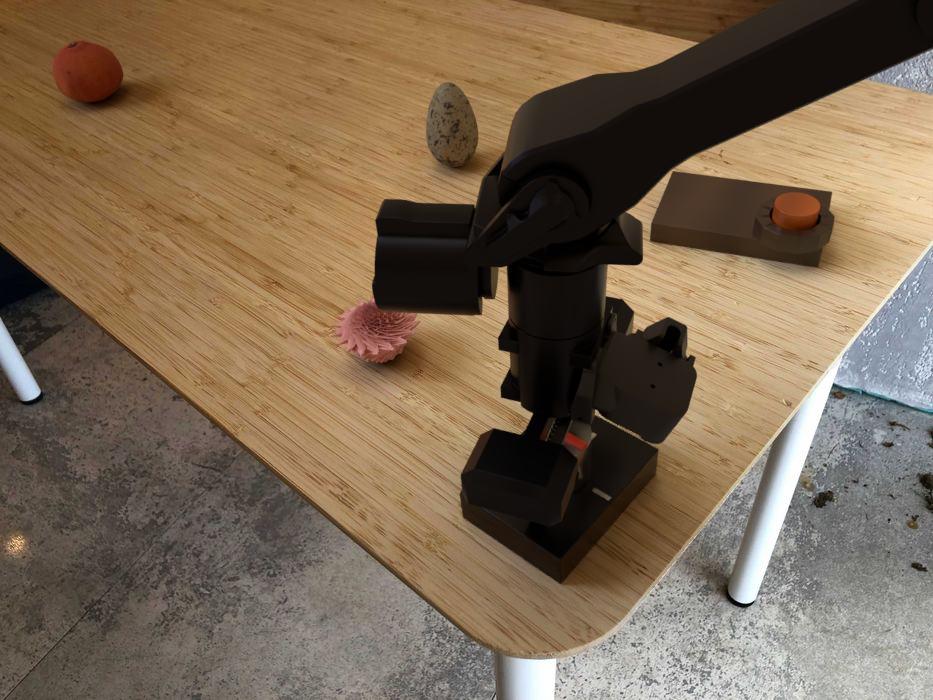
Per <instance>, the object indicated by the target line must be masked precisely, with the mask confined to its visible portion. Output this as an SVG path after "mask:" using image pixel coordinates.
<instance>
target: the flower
mask: <svg viewBox="0 0 933 700" xmlns="http://www.w3.org/2000/svg"><path fill="white" fill-rule="evenodd" d="M355 302H356V303H357V306H354V307H349V306H343V309H344V310H346V311H348V312H344V313H343V314H339V315H334V316H333V317H334V319H341V321H339V322H336V323H335V324H331V325H329V326H328V327H329V328H332V329H333V328H339V329H338V331H336V332H335V333H334V334H331V335H330V336H329V338H340V339H339V341H338V342H337V343H336V345H335V346H336V347H339V346H342V345H345V344H346V353H350V352H351V351H352V352H354V354H355V355H359V356H360V359H363V360H364V359H365V361H366V363H369V362H373V363H376V364H379V363H380V364H383V363H387V362H388V361H390V360H391V361H393V360H394V359H395V358H396V356H398V355H401V354H402V353H403V350H404V348H405V346H406V345H407V344H408V340H409V339H411V338H412V337H413V336H414V335H415V334H417V331H415V329H416V327H418V325H419V324H420V323H421V321H420V320H416V318H417V316H418V314H419V313H401V312H381V311H379V310H378V308H377V306H376V304H375V300H374V296H373V295H371V296H370V300H369V301H368V302H367V301H362V300H360V299H356V300H355Z"/></svg>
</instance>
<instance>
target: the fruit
mask: <svg viewBox="0 0 933 700" xmlns="http://www.w3.org/2000/svg"><path fill="white" fill-rule="evenodd" d="M121 64H122V63H120V61H119V58H117V56H116V55H115V53H113V51H112V50H110V49H109V48H107V47H106V46H104V45H101V44H98V43H95V42H91V41H86V40H80V39H79V40H73V41H72V42H70V43H68V44H66V45H65V46H64V47H62V48H61V49H60V50H59V51H58V52H57V54H56V55H55V57H54V59H53V62H52V68H51V69H52V70H51V71H52V72H51V73H52V76H53V80H54V83H55V85H56V87H57V89H58V91H60V92H61V94H63V95H64V96H66V97H67V98H69V99H72V100H74V101H77V102H81V103H94V102H95V103H96V102H101V101H103V100H105V99H108V98H109V97H111V96H112V95H114V93H115V92H116V91H117V90H118V89H119V88H120V86H121V84H122V82H123V81H124V70H123V66H122V65H121Z"/></svg>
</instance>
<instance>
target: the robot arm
mask: <svg viewBox="0 0 933 700" xmlns="http://www.w3.org/2000/svg"><path fill="white" fill-rule="evenodd" d="M932 50H933V0H780V1H778V2H777V3H775V4H772V5H771V6H769V7H766V8H764V9H763V10H761V11H759V12H757V13H755V14H753V15H751V16H749V17H747V18H745V19H743V20H741V21H740V22H739V21H738V22H737V23H735V24H734V25H732V26H730V27H727V28H726V29H724V30H722V31H720V32H718V33H716V34H713V35H712V36H710V37H708V38H706V39H704V40H702V41H700V42H697V44H695V45H692V46H690V47H689V48H686V49H685V50H683V51H680V52H678V53H677V54H675V55H673V56H670V57H669V58H666V59H665V60H663V61H661V62H659V63H656V64H653V65H649V66H646V67H644V68H640V69H637V70H633V71H620V72H607V73H595V74H591V75H588V76H586V77H582V78H580V79H577V80H573V81H570V82H567V83H564V84H561V85H558V86H555V87H552V88H549V89H547V90H543V91H541V92H539V93H536V94H533V96H531V97H530V98H529V99H528V100H526V101H525V102H523V103H522V104H520V106H519V107H518V109H517V110H516V111H515V113H514V116H513V118H512V120H511V123H510V127H509V131H508V135H507V140H506V144H505V150H504V151H503V153H501V154H500V156H499V157H498V158H497V160H495V162H493V164H492V166H491V167H490V168H489V169H488V171H486V173H485V174H484V176H483V177H482V178H481V181H480V185H479V189H478V194H477V198H476V202H475V204H474V203H446V202H445V203H442V202H441V203H439V202H437V203H436V202H417V201H412V200H409V199H401V198H400V199H399V198H384V199H383V200H382V202H381V204H380V206H379V209H378V211H377V215H376V217H375V219H374V222H375V229H376V234H377V236H376V242H375V250H374V276H373V279H372V282H371V290H372V296H373V297H374V300H375V304H376V306H377V308H378V310H379V311H381V312H401V313H418V314H424V315H449V316H467V317H470V316H471V317H475V316H482V315H483V307H484V300H492V301H493V300H495V299H496V297H497V290H498V282H499V270H500V269H499V268H506V282H507V284H506V285H507V311H508V312H507V313H508V314H507V315H508V318H507V320H506V322H505V324H504V325H503V327H502V329H501V331H500V332H499V335H498V337H497V344H498V351H501V352H506V353H509V369H508V371H507V373H506V375H505V377H504V379H503V380H502V383H501V385H500V388H499V389H500V398H501V399H504V400H508V401H513V402H516V403H520V406H521V408H523V409H524V410H525V411H527V412H529V413H530V414H531V413H532V415H531V417H530V419H529V421H528V424H527V425H526V428H525V429H526V430H525V429H524V430H525V432H524V434H523V435H520V434H521V433H520V434H519V433H516V432H512V431H508V430H504V429H500V428H496V427H493V428H491V429H489V430H486V431H484V432H483V433H481V434H480V435H479V437H478V439H477V442H476V443H475V445H474V447H473V448H472V451H471V453H470V455H469V457H468V458H467V460H466V462H465V465H464V466H463V469H462V471H461V473H460V483H461V491H462V494H463V496H464V498H465V500H466V501H467V503H468V504H471V505H474V506H478V507H481V508H485V509H489V510H492V511H496V512H499V513H503V514H506V515H510V516H513V517H517V518H521V519H524V520H528V521H531V522H535V523H538V524H542V525H545V526H552V525H554V524H557V523H559V522H561V521H562V518H563V516H564V513H565V510H566V508H567V505H568V502H569V500H570V497H571V494H572V492H573V489H574V486H575V484H576V481H577V478H578V476H579V472H577V471H578V459H577V458H576V457H575V456H574V455H573V454H572V453H571V452H570V451H569V450H568V449H567V448H566V447H565V446H564V445H563V443H564V441H565V438H566V436H567V433H568V431H569V429H570V426H571V424H572V421H576V422H581V423H585V424H589V425H591V424H592V421H593V419H594V416H595V415H596V411H597V412H598V413H599V415H600V416H601V417H603V418H604V420H605V419H606V421H607V420H608V422H610V423H612V424H614V425H617V426H619V427H620V428H622V429H625V430H627V431H629V432H631V433H633V434H635V435H638V436H639V437H640V439H641V440H643V441H644V442H646V443H648V444H650V445H660V444H662V443H664V442H665V440H667V438H668V437H669V436H670V434H671V433H672V432H673V430H674V429H676V427H677V425H678V424H679V423H680V422H681V420H682V419H683V418H684V417H685V415H686V414H687V412H688V411H689V408H690V404H691V400H692V397H693V394H694V390H695V386H696V383H697V379H698V372H697V370H696V368H695V366H694V365H695V362H696V358H697V357H696V356H694V355H693V354H689V356H687V350H688V341H689V340H688V325H686V324H684V323H683V322H680V321H678V320H676V319H674V318H672V317H670V316H667V317H664V318H662V319H660V320H658V321H656V322H654V323H652V324H650V325H648V326H646V327H645V328H644V330H641V329H639V328H637V330H635V332H633V331H634V320H635V310H634V309H633V308H631V306H630V305H629V304H628V303H627V302H626V301H625V300H624V299H623V298H617V297H613V296H608V295H607V285H608V284H607V283H608V267H609V266H640V265H641V264H642V263H643V261H644V229H643V228H644V225H643V222H642V221H641V219H638V218H636V217H635V216H634V215H632V214H631V213H629V212H628V211H630V210H631V209H633V208H634V207H636V206H637V205H639V204H640V202H641V201H643V199H644V198H646V196H647V195H648V194H649V193H650V192H651V191H652V190H654V188H655V187H656V186H657V185H658V184H659V183H660V182H661V181H662V180H663V179H664V178H665V177H666V176H667V175H669V173H670V172H672V171H673V170H675V169H676V168H677V167H678V166H680V165H682V164H683V163H685V162H687V161H688V160H690V159H691V158H694V157H695V156H697V155H699V154H701V153H704V152H706V151H708V150H710V149H713V148H715V147H717V146H720V145H721V144H722V145H723V144H725V143H726V142H728V141H731V140H733V139H735V138H738V137H739V136H742V135H744V134H746V133H749V132H750V131H754V130H755V129H757V128H760V127H762V126H764V125H766V124H769V123H771V122H774V121H775V120H778V119H780V118H782V117H784V116H787V115H789V114H791V113H793V112H795V111H798V110H800V109H803V108H804V107H807V106H809V105H811V104H814V103H815V102H818V101H820V100H822V99H825V98H827V97H829V96H831V95H834V94H836V93H838V92H840V91H843V90H844V89H847V88H849V87H852V86H854V85H856V84H859V83H860V82H863V81H864V80H867V79H869V78H872V77H873V76H876V75H878V74H880V73H883V72H886V71H887V70H889V69H890V70H891V68H894V67H897V66H899V65H901V64H903V63H905V62H908V61H909V60H912V59H914V58H916V57H918V56H920V55H923V54H925V53H928V52H931V51H932ZM555 418H556V419H555ZM554 419H555V423H553V422H554ZM552 424H553V428H551V426H552ZM550 429H551V432H549V431H550ZM548 433H549V437H547V436H548ZM546 438H547V441H545V440H546Z"/></svg>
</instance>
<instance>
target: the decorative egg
mask: <svg viewBox="0 0 933 700" xmlns="http://www.w3.org/2000/svg"><path fill="white" fill-rule="evenodd" d="M425 120H426V121H425V138H426V143H427V147H428V149H429V152H430V153H431V155H432V157H433V158H434V159H435V160H436V161H437V162H438V163H440V164H442V165H443V166H446V167H450V168H456V167H461V166H463V165H465V164H467V163H468V162H469V161H470V160H471V159H472V158H473V157H474V155H475V153H476V151H477V149H478V145H479V128H478V122H477V118H476V115H475V111H474V110H473V107H472V105H471V102H470V100H469V99H468V97H467V96H466V94H465V92H464V91H463V90H462V89H461V88H460V87H459V85H457V84H455V83H453V82H450V81H447V82H443V83H440V85H438V86H437V88H436V89H435V90H434V92H433V94H432V95H431V99H430V102H429V105H428V108H427V113H426V119H425Z"/></svg>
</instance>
